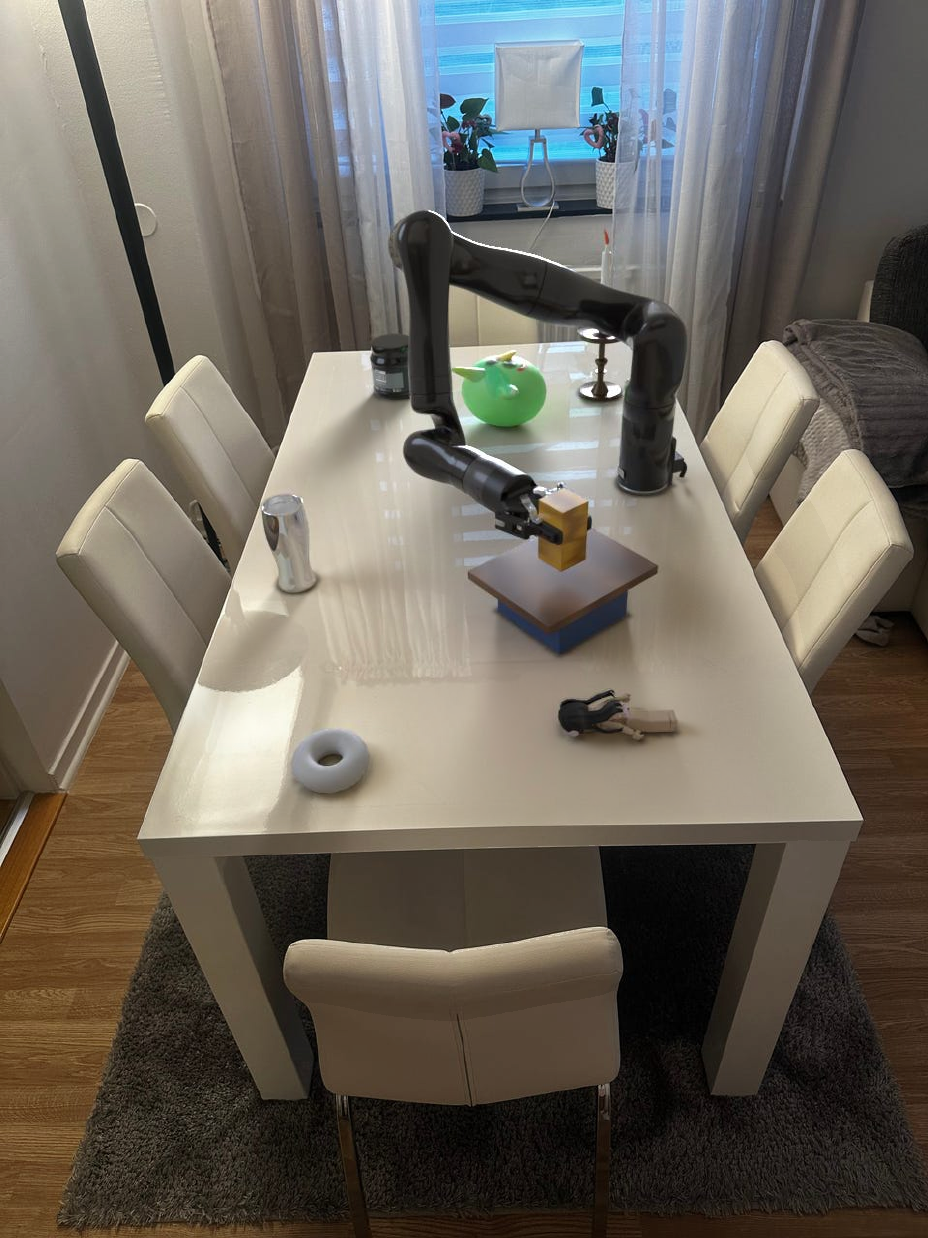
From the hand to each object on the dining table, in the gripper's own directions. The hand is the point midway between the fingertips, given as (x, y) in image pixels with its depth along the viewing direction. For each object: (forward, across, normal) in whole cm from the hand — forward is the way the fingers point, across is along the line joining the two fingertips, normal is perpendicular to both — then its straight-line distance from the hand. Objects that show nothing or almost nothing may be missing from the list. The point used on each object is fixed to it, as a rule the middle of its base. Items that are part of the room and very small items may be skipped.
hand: (575, 531), depth 126 cm
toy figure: (+20, -11, +16) cm, 28 cm away
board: (-2, 0, +9) cm, 10 cm away
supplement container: (-89, +29, +17) cm, 95 cm away
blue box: (-2, 0, +16) cm, 16 cm away
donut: (+2, -44, +17) cm, 47 cm away
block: (-3, 0, +6) cm, 7 cm away
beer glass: (-38, -27, +17) cm, 49 cm away
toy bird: (-59, +36, +17) cm, 72 cm away
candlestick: (-56, +62, +16) cm, 85 cm away
